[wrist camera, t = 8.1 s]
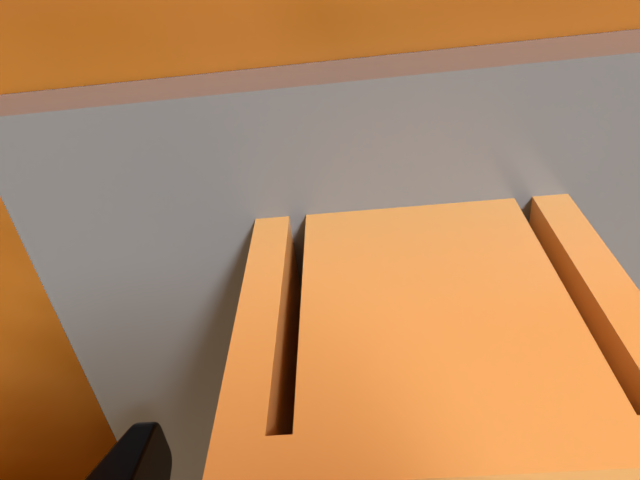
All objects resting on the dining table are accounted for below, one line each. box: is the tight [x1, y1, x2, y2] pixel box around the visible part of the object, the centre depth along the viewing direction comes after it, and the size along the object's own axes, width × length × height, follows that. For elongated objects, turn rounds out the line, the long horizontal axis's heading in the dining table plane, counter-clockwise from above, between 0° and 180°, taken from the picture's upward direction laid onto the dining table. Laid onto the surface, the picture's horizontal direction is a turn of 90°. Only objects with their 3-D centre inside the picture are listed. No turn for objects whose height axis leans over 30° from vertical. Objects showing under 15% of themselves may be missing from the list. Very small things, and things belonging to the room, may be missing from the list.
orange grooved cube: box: [202, 194, 640, 480], centre depth 9 cm, size 5×5×5 cm
